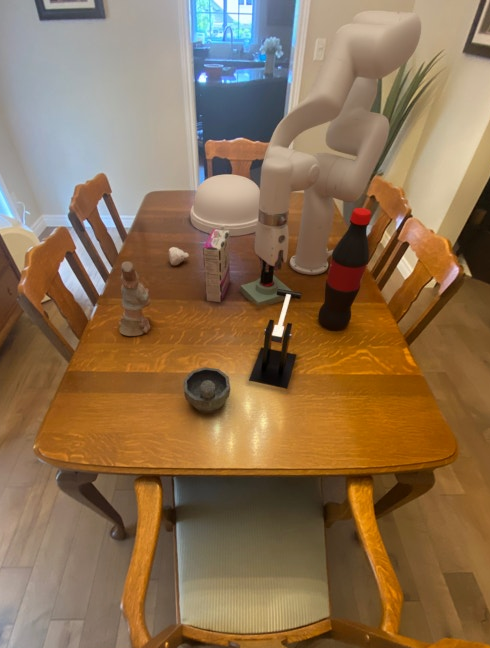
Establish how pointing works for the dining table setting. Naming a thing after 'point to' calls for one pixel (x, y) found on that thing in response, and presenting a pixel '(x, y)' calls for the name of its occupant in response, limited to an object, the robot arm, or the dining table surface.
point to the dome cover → (226, 205)
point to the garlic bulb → (177, 256)
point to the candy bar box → (216, 265)
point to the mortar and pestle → (206, 389)
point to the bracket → (274, 360)
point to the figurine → (133, 302)
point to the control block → (263, 292)
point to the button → (267, 284)
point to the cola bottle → (346, 273)
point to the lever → (283, 314)
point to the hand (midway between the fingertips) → (266, 282)
